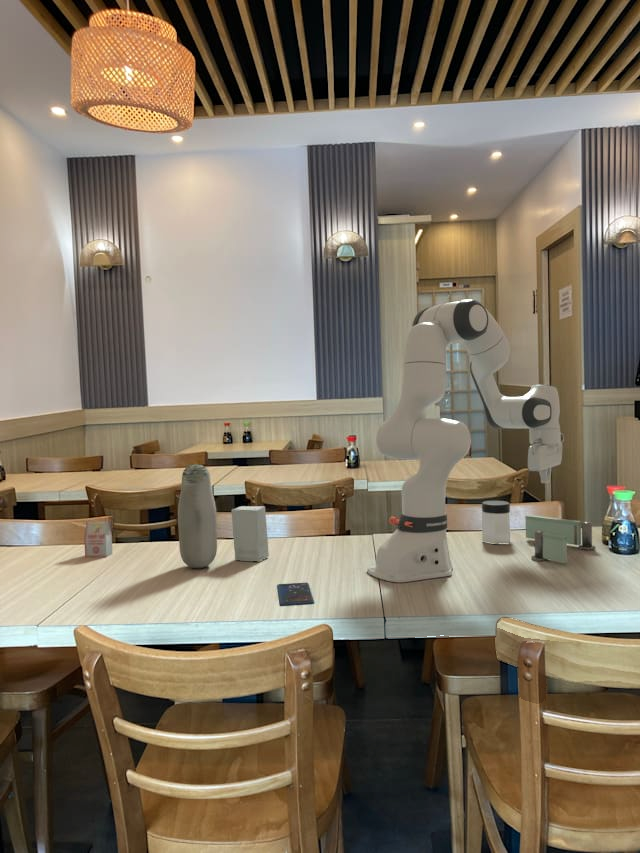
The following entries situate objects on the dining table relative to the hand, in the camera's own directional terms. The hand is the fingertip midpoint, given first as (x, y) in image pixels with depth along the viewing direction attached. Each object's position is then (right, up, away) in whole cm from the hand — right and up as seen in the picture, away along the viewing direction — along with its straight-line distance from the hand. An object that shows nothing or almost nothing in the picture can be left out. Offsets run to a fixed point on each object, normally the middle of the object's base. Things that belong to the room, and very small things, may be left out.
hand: (545, 482), depth 189 cm
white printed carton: (-135, -22, -5) cm, 137 cm away
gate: (0, -17, -6) cm, 18 cm away
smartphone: (-75, -22, -47) cm, 91 cm away
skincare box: (-89, -21, -14) cm, 92 cm away
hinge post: (+7, -18, -13) cm, 23 cm away
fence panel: (-7, -19, -27) cm, 34 cm away
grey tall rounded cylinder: (-102, -21, -21) cm, 106 cm away
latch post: (-10, -19, -23) cm, 31 cm away
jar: (-16, -18, -2) cm, 24 cm away
